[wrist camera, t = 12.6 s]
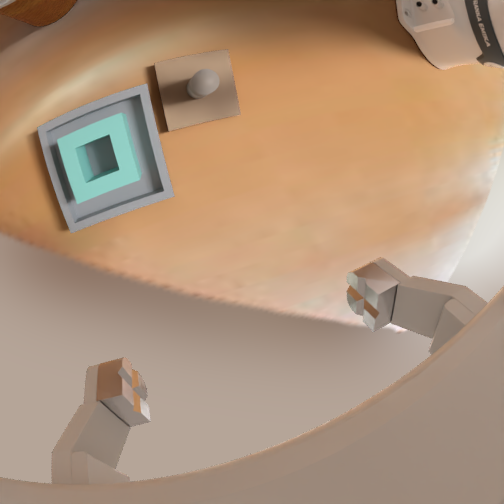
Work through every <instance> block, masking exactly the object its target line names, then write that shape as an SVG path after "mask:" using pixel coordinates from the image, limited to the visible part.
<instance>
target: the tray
mask: <svg viewBox="0 0 504 504" xmlns="http://www.w3.org/2000/svg"><path fill="white" fill-rule="evenodd" d="M119 113H124V114H126V117H127V121H128V125H129V129H130V133H131V137H132V140H133V144H134V148H135V151H136V155H137V158H138V162H139V165H140V169H141V172H142V174H141V178H140V180H138V181H136V182H133V183H130V184H127V185H125V186H122V187H119V188H117V189H114V190H111V191H109V192H106V193H104V194H101V195H99V196H96V197H94V198H91V199H89V200H86V201H84V202H82V203H79V204H77V202H76V199H75V196H74V194H73V191H72V188H71V185H70V182H69V179H68V176H67V173H66V170H65V167H64V163H63V160H62V157H61V153H60V150H59V146H58V142H57V139H59V138H62V137H64V136H66V135H68V134H70V133H72V132H74V131H77V130H79V129H81V128H83V127H86V126H88V125H91V124H93V123H95V122H98V121H100V120H103V119H105V118H108V117H111V116H113V115H116V114H119ZM37 129H38V134H39V138H40V142H41V146H42V150H43V154H44V157H45V161H46V164H47V168H48V171H49V174H50V177H51V181H52V184H53V187H54V190H55V193H56V196H57V198H58V201H59V204H60V207H61V209H62V212H63V215H64V217H65V220H66V222H67V225H68V227H69V230H70V232H71V233H74V232H76V231H78V230H81V229H84V228H86V227H89V226H91V225H94V224H96V223H99V222H102V221H104V220H107V219H110V218H112V217H115V216H118V215H121V214H124V213H126V212H129V211H132V210H135V209H138V208H141V207H144V206H147V205H150V204H153V203H156V202H159V201H162V200H165V199H168V198H171V197H175V196H174V193H173V189H172V185H171V182H170V178H169V174H168V170H167V167H166V163H165V159H164V155H163V151H162V147H161V143H160V139H159V135H158V131H157V126H156V122H155V118H154V113H153V109H152V104H151V100H150V95H149V90H148V85H147V84H143V85H140V86H136V87H133V88H130V89H127V90H124V91H121V92H118V93H115V94H112V95H109V96H107V97H104V98H101V99H99V100H96V101H94V102H91V103H89V104H86V105H84V106H81V107H79V108H77V109H74V110H72V111H70V112H68V113H65V114H63V115H61V116H59V117H57V118H55V119H53V120H51V121H49V122H47V123H45V124H43V125H41V126H39V127H37ZM85 148H86V151H87V155H88V158H89V162H90V165H91V168H92V171H93V174H94V176H96V175H98V174H100V173H103V172H105V171H108V170H111V169H113V168H116V167H118V163H117V160H116V156H115V153H114V149H113V146H112V142H111V138H110V135H109V136H106V137H104V138H101V139H99V140H96V141H94V142H91V143H89V144H87V145H85Z"/></svg>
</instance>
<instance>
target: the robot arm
mask: <svg viewBox="0 0 504 504" xmlns="http://www.w3.org/2000/svg"><path fill="white" fill-rule="evenodd" d="M396 4H397V12H398V19H399V21H400V23H401V24H402V26H403V27H404V28H405V29H406V30H407V31H408V32H409V33H410V34H411V35H412V36H413V38H414V40H415V41H416V43H417V45H418V46H419V48H420V50H421V51H422V53H423V54H424V55H425V57H426V58H427V59H428V60H429V61H430V62H431V63H432V64H433V65H434V66H436V67H437V68H439V69H444V70H445V69H449V68H452V67H455V66H459V65H466V64H482V65H485V66H489V67H496V68H504V0H396ZM347 283H348V284H349V285H350V286H349V288H348V290H347V300H348V303H349V306H350V307H351V309H352V310H353V311H354V312H355V314H358V315H362V316H363V322H364V323H365V324H366V325H367V326H368V327H369V328H370V329H371V330H372V331H373V332H375V331H376V330H378V329H380V328H382V327H384V326H385V325H387V324H389V323H392V324H394V325H397V326H400V327H402V328H405V329H408V330H410V331H413V332H416V333H418V334H421V335H424V336H427V337H429V338H432V342H431V344H430V347H429V352H430V353H431V354H432V355H431V356H430V357H428V358H427V359H426V360H424V361H423V362H422V363H420V364H419V365H418V366H417V367H415V368H414V369H412V370H411V371H410V372H408V373H407V374H406V375H404V376H403V377H401V378H400V379H398V380H397V381H396V382H394V383H393V384H391V385H390V386H388V387H387V388H385V389H383V390H382V391H380V392H379V393H377V394H376V395H374V396H372V397H371V398H369V399H368V400H366V401H364V402H363V403H361V404H359V405H357V406H356V407H354V408H352V409H350V410H349V411H347V412H345V413H343V414H341V415H340V416H338V417H336V418H334V419H332V420H330V421H328V422H326V423H324V424H322V425H320V426H318V427H316V428H314V429H312V430H310V431H307V432H305V433H303V434H301V435H299V436H296V437H294V438H292V439H289V440H287V441H285V442H282V443H280V444H277V445H275V446H272V447H270V448H267V449H264V450H262V451H259V452H256V453H253V454H250V455H248V456H244V457H241V458H239V459H235V460H232V461H229V462H225V463H222V464H219V465H215V466H211V467H208V468H204V469H200V470H195V471H191V472H187V473H182V474H177V475H172V476H166V477H161V478H155V479H148V480H141V481H132V482H130V479H129V477H128V476H127V475H126V474H124V473H122V472H119V471H118V470H116V466H117V463H118V461H119V458H120V455H121V452H122V450H123V447H124V444H125V441H126V438H127V436H128V433H129V431H130V427H132V426H136V425H140V424H144V423H148V422H150V421H151V420H150V412H149V406H148V405H147V404H146V403H145V402H144V401H145V400H146V398H147V388H146V385H145V382H144V380H143V378H142V376H141V375H140V374H139V372H138V371H135V370H133V369H132V364H131V362H130V361H129V360H128V359H127V358H120V359H116V360H113V361H109V362H105V363H101V364H98V365H94V366H90V367H88V369H87V371H86V381H85V393H84V404H83V405H80V406H79V408H78V410H77V411H76V413H75V414H74V416H73V418H72V419H71V421H70V422H69V424H68V426H67V428H66V429H65V431H64V432H63V434H62V436H61V438H60V439H59V441H58V442H57V444H56V446H55V448H54V449H53V451H52V484H49V483H38V482H28V481H21V480H14V479H8V478H3V477H0V504H504V286H503V287H502V288H501V290H500V291H499V292H498V293H497V294H496V295H495V296H494V297H493V299H491V300H490V302H489V303H487V302H486V301H484V300H483V299H482V298H481V297H479V296H478V295H477V294H475V293H474V292H473V291H471V290H470V289H469V288H467V287H466V286H462V285H457V284H452V283H447V282H442V281H437V280H432V279H427V278H422V277H417V276H412V277H409V276H408V275H407V274H405V273H404V272H402V271H401V270H400V269H398V268H397V267H396V266H394V265H393V264H391V263H390V262H389V261H387V260H386V259H384V258H381V257H380V258H378V259H376V260H374V261H372V262H370V263H368V264H366V265H364V266H362V267H359V268H357V269H355V270H353V271H351V272H349V273H348V275H347Z"/></svg>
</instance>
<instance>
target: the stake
mask: <svg viewBox="0 0 504 504" xmlns="http://www.w3.org/2000/svg"><path fill="white" fill-rule="evenodd" d="M154 66H155V71H156V76H157V81H158V86H159V91H160V96H161V100H162V105H163V110H164V114H165V119H166V123H167V127H168V131H173V130H176V129H180V128H184V127H188V126H191V125H195V124H200V123H204V122H208V121H213V120H217V119H222V118H227V117H232V116H237V115H241V113H240V107H239V102H238V97H237V92H236V87H235V81H234V76H233V71H232V66H231V61H230V56H229V51H228V49H225V50H218V51H211V52H205V53H199V54H193V55H188V56H183V57H178V58H174V59H169V60H165V61H161V62H157V63H154Z"/></svg>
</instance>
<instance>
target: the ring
mask: <svg viewBox="0 0 504 504" xmlns="http://www.w3.org/2000/svg"><path fill="white" fill-rule="evenodd" d="M109 135H110V138H111V142H112V146H113V149H114V153H115V156H116V160H117V163H118V167H116V168H113V169H111V170H108V171H105V172H103V173H100V174H98V175H96V176H94V174H93V171H92V168H91V165H90V162H89V158H88V155H87V151H86V148H85V145H87V144H89V143H91V142H94V141H96V140H99V139H101V138H104V137H106V136H109ZM57 142H58V146H59V150H60V153H61V157H62V160H63V163H64V167H65V170H66V173H67V176H68V179H69V182H70V185H71V188H72V191H73V194H74V196H75V199H76V202H77V204H79V203H82V202H84V201H86V200H89V199H91V198H94V197H96V196H99V195H101V194H104V193H106V192H109V191H111V190H114V189H117V188H119V187H122V186H125V185H127V184H130V183H133V182H136V181H138V180H140V178H141V174H142V172H141V169H140V165H139V162H138V158H137V155H136V151H135V148H134V144H133V140H132V137H131V133H130V129H129V125H128V121H127V117H126V114H124V113H119V114H116V115H113V116H111V117H108V118H105V119H103V120H100V121H98V122H95V123H93V124H91V125H88V126H86V127H83V128H81V129H79V130H77V131H74V132H72V133H70V134H68V135H66V136H64V137H62V138H59V139H57Z"/></svg>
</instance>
